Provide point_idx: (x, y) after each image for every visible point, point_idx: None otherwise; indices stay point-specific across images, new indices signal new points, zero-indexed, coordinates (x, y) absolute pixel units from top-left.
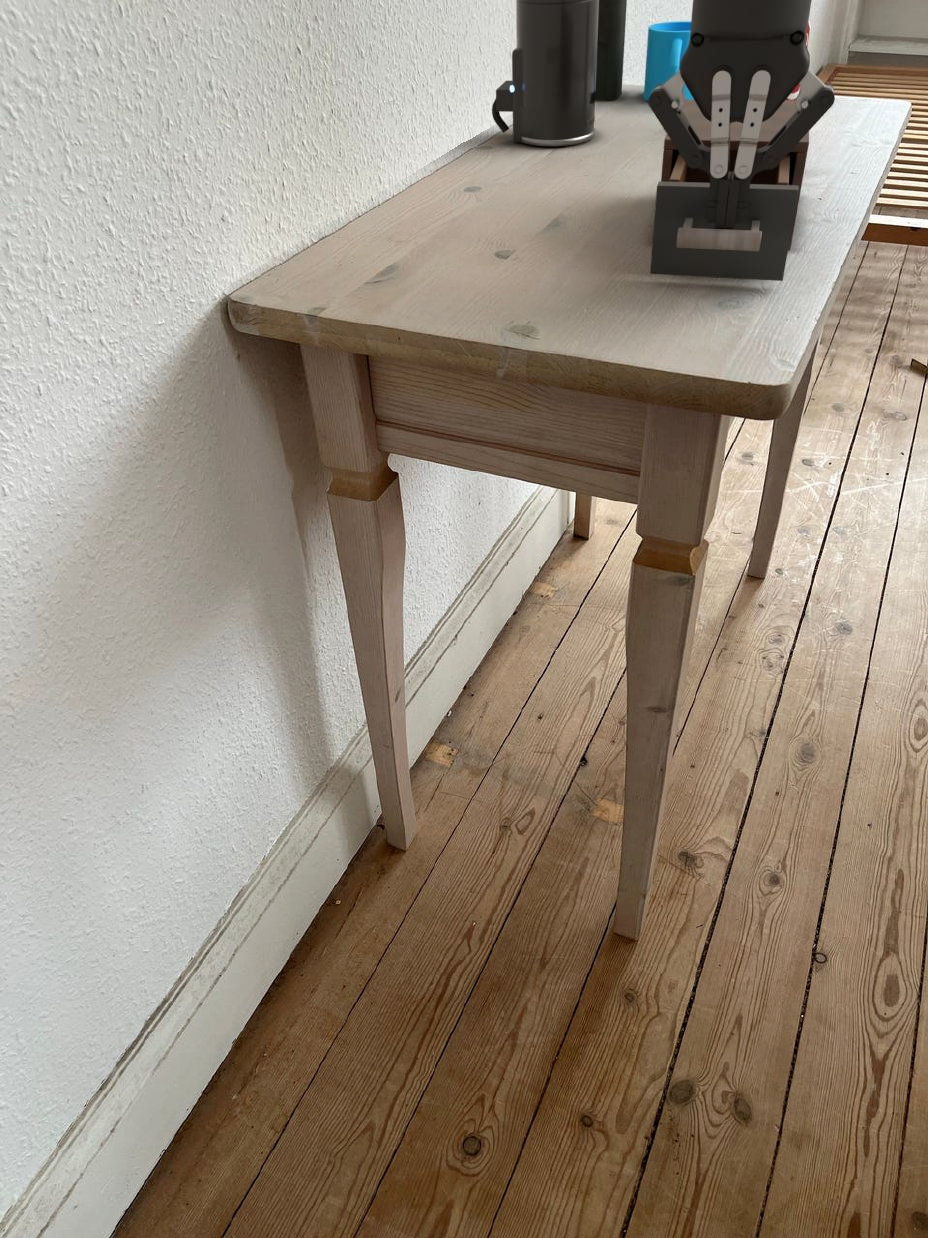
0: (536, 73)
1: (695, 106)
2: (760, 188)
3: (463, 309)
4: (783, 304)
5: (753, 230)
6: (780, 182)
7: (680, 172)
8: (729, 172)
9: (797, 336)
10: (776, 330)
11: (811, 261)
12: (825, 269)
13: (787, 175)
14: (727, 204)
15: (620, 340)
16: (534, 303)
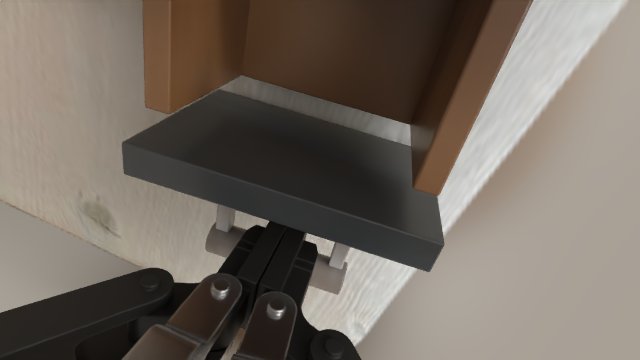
0: None
1: None
2: (346, 245)
3: (14, 150)
4: None
5: (336, 254)
6: (418, 190)
7: (165, 47)
8: (252, 288)
9: (393, 286)
10: (374, 269)
11: (548, 22)
12: (552, 73)
13: (462, 138)
14: (280, 238)
15: (200, 255)
16: (86, 145)
